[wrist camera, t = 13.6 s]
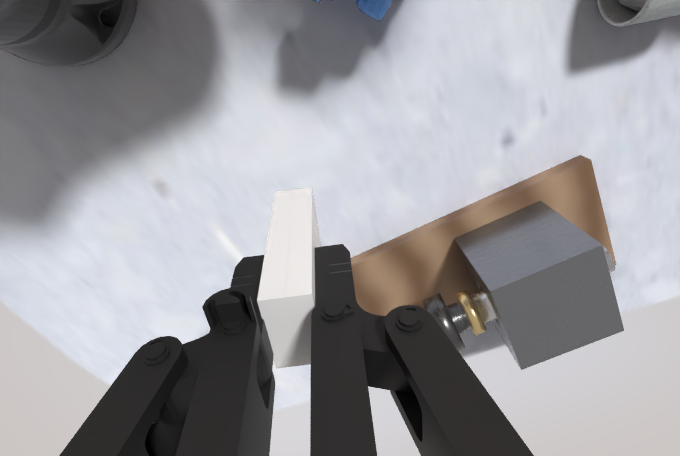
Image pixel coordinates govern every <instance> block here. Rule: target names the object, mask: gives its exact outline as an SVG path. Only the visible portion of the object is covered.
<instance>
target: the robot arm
mask: <svg viewBox="0 0 680 456" xmlns="http://www.w3.org/2000/svg"><path fill="white" fill-rule="evenodd" d="M136 7H137V0H0V49H3V50H5V51H7V52H10V53H11V54H13V55H15V56H18V57H20V58H22V59H25V60H28V61H31V62H35V63H39V64H44V65H51V66H69V65H80V64H86V63H90V62H93V61H96V60H98V59H101V58H103V57H104V56H106V55H108V54H109V53H110V52H112V51H113V50H114V49H115V48H116V47H117V46H118V45H119V44H120V43H121V42H122V40H123V39H124V38H125V36H126V35H127V33H128V31H129V29H130V27H131V25H132V22H133V19H134V16H135V12H136ZM203 310H204V313H205V315H206V318H207V320H208V323H209V326H210V328H211V329H210V333H208V334H207V335H205V336H203V337H201V338H199V339H196V340H193V341H191V342H188V343H185V344H182V343H181V342H180V341H179V340H178V339H177V338H175V337H171V336H165V337H159V338H156V339H154V340H151V341H149V342H148V343H146V344H145V345H143V346H142V347H141V348H140V349H139V350H138V351H137V352H136V353H135V354H134V356H133V357H132V358H131V360H130V361H129V362H128V364H127V365H126V366H125V368H124V369H123V370H122V372H121V373H120V374H119V376H118V377H117V379H116V380H115V381H114V383H113V384H112V385H111V387H110V388H109V389H108V391H107V392H106V393H105V395H104V396H103V397H102V399H101V400H100V402H99V403H98V404H97V406H96V407H95V408H94V410H93V411H92V413H91V414H90V415H89V417H88V418H87V419H86V420H85V422H84V423H83V425H82V426H81V428H80V429H79V430H78V431H77V433H76V434H75V435H74V437H73V438H72V439H71V441H70V442H69V443H68V445H67V446H66V448H65V449H64V450H63V452H62V453H61V454H60V456H269V451H270V439H271V427H272V415H273V403H274V391H275V380H274V375H273V372H272V365H273V359H274V362H275V366H276V368H283V367H291V366H299V365H307V364H311V455H310V456H377V452H376V444H375V436H374V429H373V422H372V414H371V406H370V399H369V391H368V386H370V387H375V388H381V389H387V390H390V392H391V394H392V397H393V399H394V401H395V403H396V405H397V407H398V409H399V411H400V413H401V415H402V417H403V419H404V421H405V423H406V425H407V428H408V430H409V432H410V434H411V436H412V437H413V440H414V442H415V444H416V446H417V448H418V450H419V452H420V454H421V456H534V455H533V454H532V453H531V451H530V450H529V448H528V447H527V446H526V444H525V443H524V442H523V440H522V439H521V438H520V436H519V435H518V433H517V432H516V431H515V429H514V428H513V426H512V425H511V424H510V422H509V421H508V420H507V418H506V417H505V415H504V414H503V413H502V412H501V410H500V409H499V407H498V406H497V404H496V403H495V402H494V400H493V399H492V397H491V396H490V395H489V394H488V392H487V391H486V389H485V388H484V387H483V385H482V384H481V382H480V381H479V379H478V378H477V377H476V375H475V374H474V373H473V371H472V370H471V368H470V367H469V366H468V364H467V363H466V362H465V360H464V359H463V357H462V356H461V355H460V353H459V352H458V351H457V349H456V348H455V346H454V345H453V344H452V342H451V341H450V339H449V338H448V337H447V335H446V334H445V333H444V331H443V330H442V328H441V327H440V326H439V324H438V323H437V322H436V320H435V319H434V317H433V316H432V315H431V314H430V313H429V312H428V311H427V310H426V309H423V308H421V307H419V306H413V305H404V306H399V307H397V308H394V309H392V310H391V311H390V312H389V313H388V314H387V315H386V316H381V315H375V314H371V313H369V312H366V311H365V310H363V309H362V308H361V307H360V306H359V305H358V303H357V300H356V295H355V288H354V281H353V273H352V266H351V259H350V252H349V251H348V250H347V248H346V247H345V246H344V245H343V244H339V245H332V246H324V247H321V241H320V235H319V229H318V223H317V217H316V210H315V204H314V198H313V192H312V187H309V188H302V189H294V190H286V191H278V192H275V194H274V200H273V206H272V212H271V218H270V225H269V231H268V237H267V243H266V249H265V255H260V256H252V257H244V258H243V259H242V260H241V261H240V262H239V263H238V265H237V266H236V267H235V270H234V274H233V279H232V282H231V287H230V288H229V289H225V290H221V291H219V292H217V293H215V294H213V295H212V296H211V297H209V298H208V299H207V300H206V301H205V303H204V305H203Z"/></svg>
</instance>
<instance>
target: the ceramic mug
mask: <svg viewBox="0 0 680 456" xmlns="http://www.w3.org/2000/svg"><path fill="white" fill-rule="evenodd" d="M597 3H598V7H599V10H600V13H601V15H602V17H603V18H604V19H605V20H606V21H607V22H608V23H609V24H611V25H614V26H619V27H623V26H629V25H634V24H638V23H643V22H649V21H653V20H658V19H663V18H667V17H672V16H678V15H680V0H597Z"/></svg>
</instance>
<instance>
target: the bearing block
mask: <svg viewBox="0 0 680 456" xmlns="http://www.w3.org/2000/svg"><path fill="white" fill-rule="evenodd" d="M454 239H455V242H456V244H457V247H458V249H459V251H460V254H461V256H462V259H463V261H464V264H465V266H466V268H467V271H468V273H469V276H470V278H471V280H472V283H473V285H474V288H475V290H476V292H477V293H479V292H481V291H483V292H484V293H485V295H486V296H487V298H488V299H489V301H490V303H491V305H492V308H493V310H494V313H495V315H496V319H494V320H491V321H492V323H493V324H494V326H495V327H496V329H497V331H498V332H499V334H500V336H501V337H502V339H503V341H504V342H505V344H506V345H507V347H508V348H509V350H510V352H511V354H512V355H513V357H514V358H515V360H516V362H517V363H518V365H519V367H520V368H521V369H525V368H527V367H530V366H532V365H535V364H538V363H540V362H543V361H546V360H548V359H551V358H553V357H556V356H559V355H561V354H563V353H566V352H569V351H572V350H574V349H577V348H580V347H582V346H585V345H587V344H590V343H593V342H595V341H598V340H600V339H603V338H606V337H608V336H611V335H613V334H616V333H619V332H621V331H624V328H623V324H622V321H621V316H620V312H619V308H618V304H617V300H616V296H615V292H614V288H613V284H612V280H611V276H610V272H609V268H608V264H607V261H606V257H605V253H604V249H603V245H602V244H601V243H599V242H598V241H597V240H595V239H594V238H592V237H591V236H590V235H588V234H587V233H585V232H584V231H583V230H581V229H580V228H578V227H577V226H576V225H574V224H573V223H571V222H570V221H569V220H567V219H566V218H564V217H563V216H562V215H560V214H559V213H557V212H556V211H555V210H553V209H552V208H550V207H549V206H548V205H546V204H545V203H543V202H542V201H541V200H540V201H538V202H535V203H533V204H531V205H529V206H526V207H524V208H522V209H520V210H517V211H515V212H513V213H510V214H508V215H506V216H504V217H501V218H499V219H497V220H495V221H492V222H490V223H488V224H485V225H483V226H481V227H479V228H476V229H474V230H472V231H470V232H467V233H465V234H463V235H460V236H458V237H456V238H454Z"/></svg>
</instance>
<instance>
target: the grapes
mask: <svg viewBox="0 0 680 456" xmlns="http://www.w3.org/2000/svg"><path fill="white" fill-rule="evenodd" d="M314 1H316V2H320V1H321V0H314ZM332 1H334V0H332ZM391 2H392V0H357V1H356V3H357V5H358V7H359V9H360V11H361V12H363V13H364V14H366V15H368V16H370V17H372V18H374V19H376V20H379V21H380V20H381V19H382V18H383V16H384V15H385V13H386V12H387V10H388V9H389V7H390V5H391Z"/></svg>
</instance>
